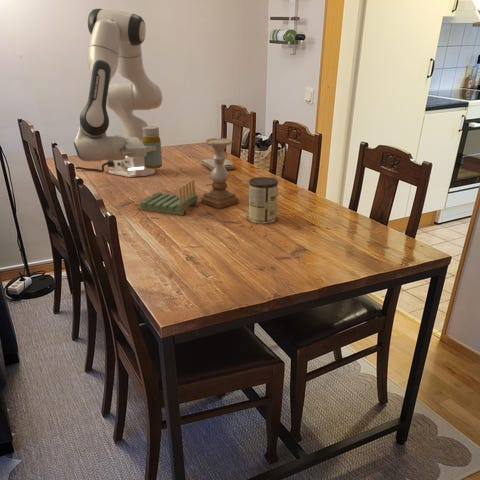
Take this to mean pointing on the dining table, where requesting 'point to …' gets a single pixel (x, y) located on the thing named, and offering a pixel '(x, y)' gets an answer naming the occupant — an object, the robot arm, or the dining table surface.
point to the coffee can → (262, 199)
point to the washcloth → (211, 164)
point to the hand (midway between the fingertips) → (154, 146)
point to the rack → (171, 201)
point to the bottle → (152, 139)
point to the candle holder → (219, 177)
